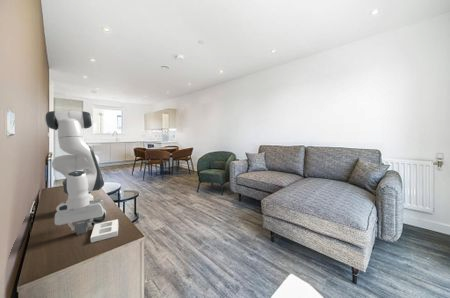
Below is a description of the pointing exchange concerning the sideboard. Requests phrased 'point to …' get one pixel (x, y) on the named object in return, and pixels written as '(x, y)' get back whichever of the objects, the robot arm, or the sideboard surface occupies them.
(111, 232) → the outlet plate
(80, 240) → the sideboard surface
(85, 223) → the plug
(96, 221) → the ceramic mug
